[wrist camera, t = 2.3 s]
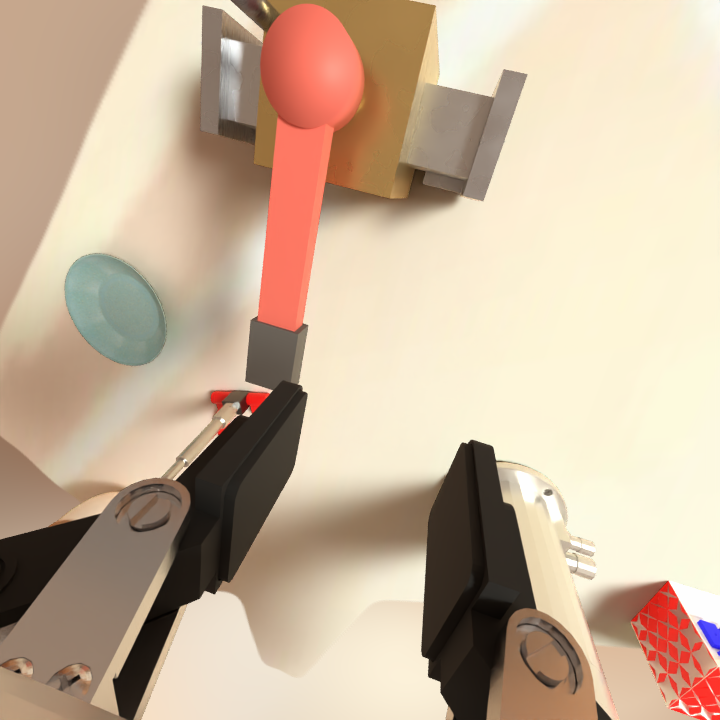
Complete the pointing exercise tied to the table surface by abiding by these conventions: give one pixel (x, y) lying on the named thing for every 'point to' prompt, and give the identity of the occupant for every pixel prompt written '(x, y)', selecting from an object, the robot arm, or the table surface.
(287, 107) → the lever
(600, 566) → the table surface
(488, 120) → the valve body
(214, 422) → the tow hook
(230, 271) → the table surface
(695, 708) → the white and red cube
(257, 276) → the table surface
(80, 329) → the saucer
